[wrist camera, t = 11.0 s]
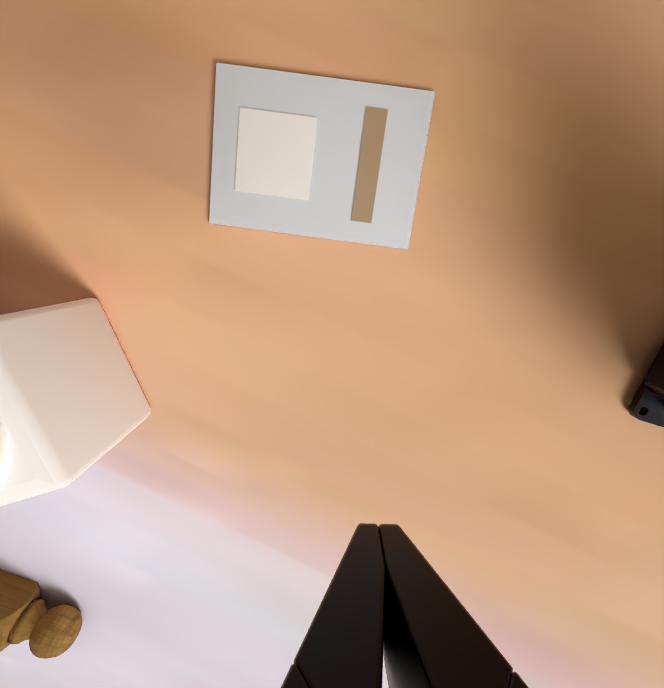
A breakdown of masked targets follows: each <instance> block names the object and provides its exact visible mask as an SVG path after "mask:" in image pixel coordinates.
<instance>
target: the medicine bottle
mask: <svg viewBox="0 0 664 688" xmlns="http://www.w3.org/2000/svg"><path fill="white" fill-rule="evenodd" d="M150 413H151V408H150V406H149V404H148V402H147V400H146V398H145V395H144V393H143V391H142V389H141V387H140V385H139V383H138V381H137V379H136V377H135V375H134V373H133V371H132V369H131V366H130V364H129V362H128V360H127V358H126V356H125V354H124V352H123V350H122V348H121V346H120V344H119V342H118V340H117V337H116V335H115V333H114V331H113V329H112V327H111V325H110V323H109V321H108V319H107V317H106V315H105V313H104V310H103V308H102V306H101V304H100V302H99V301H98V300H97V299H95V298H86V299H80V300H75V301H70V302H65V303H60V304H54V305H49V306H44V307H39V308H34V309H28V310H23V311H18V312H13V313H8V314H3V315H0V506H4V505H7V504H10V503H13V502H17V501H20V500H23V499H27V498H30V497H33V496H37V495H40V494H43V493H47V492H50V491H53V490H57V489H60V488H63V487H65V486H67V485H69V484H70V483H71V482H73V481H74V480H75V479H76V478H77V477H78V476H80V475H81V474H82V473H83V472H84V471H85V470H87V469H88V468H89V467H90V466H91V465H92V464H94V463H95V462H96V461H97V460H98V459H99V458H101V457H102V456H103V455H104V454H105V453H106V452H108V451H109V450H110V449H111V448H112V447H113V446H115V445H116V444H117V443H118V442H119V441H120V440H122V439H123V438H124V437H125V436H126V435H127V434H129V433H130V432H131V431H132V430H133V429H134V428H136V427H137V426H138V425H139V424H140V423H141V422H143V421H144V420H145V419H146V418H147V417H148V416H149V415H150Z"/></svg>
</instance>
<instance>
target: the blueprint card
mask: <svg viewBox="0 0 664 688" xmlns="http://www.w3.org/2000/svg"><path fill="white" fill-rule="evenodd" d="M434 96H435V91H428V90H420V89H412V88H405V87H397V86H390V85H382V84H375V83H367V82H360V81H352V80H345V79H337V78H329V77H322V76H314V75H307V74H299V73H292V72H284V71H277V70H269V69H261V68H254V67H246V66H239V65H231V64H224V63H216V84H215V106H214V128H213V150H212V172H211V194H210V216H209V223H211V224H219V225H226V226H234V227H242V228H249V229H257V230H264V231H272V232H279V233H287V234H294V235H302V236H310V237H317V238H325V239H332V240H340V241H347V242H355V243H363V244H370V245H378V246H385V247H393V248H400V249H408V246H409V241H410V235H411V229H412V223H413V217H414V212H415V206H416V200H417V194H418V188H419V183H420V177H421V171H422V165H423V160H424V154H425V148H426V142H427V136H428V131H429V125H430V119H431V113H432V107H433V102H434Z"/></svg>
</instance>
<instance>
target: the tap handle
mask: <svg viewBox="0 0 664 688" xmlns="http://www.w3.org/2000/svg"><path fill="white" fill-rule="evenodd" d="M37 597H39V598H40V597H41V591H40V586H39V584H38V582H35V581H32V580H29V579H27V578H24V577H21V576H18V575H15V574H12V573H9V572H6V571H4V570H1V569H0V652H1V651H2V650H3V649H5V648H6V647H7V646H8V645H10V644H19V643H20V642H22V641H24V640H28V639H30V640H29V646H30V650H31V652H32V654H34V655H35V656H36V657H39V658H52V657H56V656H58V655H61V654H62V653H64V652H65V651H66V650H67V649H68V648H69V647H70V646H71V645H72V644H73V642H74V641H75V639H76V638H77V636H78V634H79V632H80V629H81V625H82V616H81V613H80V611H79V610H78V609H77V608H75V607H73V606H70V605H58V606H55V607H53V608H51V609H50V610H48V609H47V608H46V602H45V600H42V599H38V600H34V599H35V598H37ZM33 600H34V601H33ZM31 601H33V602H32V603H31ZM30 603H31V604H30ZM29 604H30V605H29ZM28 605H29V606H28ZM27 606H28V607H27ZM26 607H27V608H26ZM25 608H26V609H25ZM24 609H25V611H24V612H23V610H24ZM22 612H23V613H22Z"/></svg>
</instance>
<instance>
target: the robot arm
mask: <svg viewBox="0 0 664 688" xmlns="http://www.w3.org/2000/svg"><path fill="white" fill-rule="evenodd" d="M642 407H643V409H642V411H641V412H639V409H640V408H642ZM628 410H629V413H630V415H632V416H634V417H635V418H637V419H639V420H642V421H645V422H648V423H652V424H655V425H658V426H661V427H664V344H663V346H662V348H661V349H660V351H659V353H658V355H657V357H656V358H655V360H654V362H653V364H652V366H651V367H650V369H649V371H648V373H647V375H646V376H645V378H644V380H643V382H642V384H641V386H640V387H639V389H638V391H637V393H636V395H635V396H634V398H633V400H632V402H631V404H630V405H629V409H628ZM383 654H384V661H385V667H386V673H387V679H388V685H389V688H528V686H527V685H526V684H525V683H524V681H523V680H522V679H521V678H520V676H519V675H518V674H517V673H516V672H513V668H512V667H511V665H510V664H509V663H508V662H507V660H506V659H505V658H504V657H503V655H502V654H501V653H500V652H499V650H498V649H497V648H496V646H495V645H494V644H493V643H492V641H491V640H490V639H489V638H488V636H487V635H486V634H485V633H484V631H483V630H482V629H481V628H480V626H479V625H478V624H477V623H476V621H475V620H474V619H473V618H472V616H471V615H470V614H469V613H468V611H467V610H466V609H465V608H464V606H463V605H462V604H461V603H460V601H459V600H458V599H457V598H456V596H455V595H454V594H453V593H452V591H451V590H450V589H449V588H448V586H447V585H446V584H445V583H444V581H443V580H442V579H441V578H440V576H439V575H438V574H437V573H436V571H435V570H434V569H433V568H432V566H431V565H430V564H429V563H428V561H427V560H426V559H425V558H424V556H423V555H422V554H421V553H420V551H419V550H418V549H417V548H416V546H415V545H414V544H413V543H412V541H411V540H410V539H409V538H408V536H407V535H406V534H405V533H404V531H403V530H402V529H401V528H400V526H398V525H396V524H380V525H379V527H378V526H377V525H376V524H364V523H361V524H359V525H358V526H357V528H356V530H355V532H354V534H353V537H352V539H351V541H350V543H349V545H348V547H347V549H346V551H345V553H344V556H343V558H342V560H341V562H340V564H339V566H338V568H337V570H336V572H335V575H334V577H333V579H332V581H331V583H330V585H329V587H328V589H327V592H326V594H325V596H324V598H323V600H322V602H321V604H320V606H319V608H318V611H317V613H316V615H315V617H314V619H313V621H312V623H311V625H310V628H309V630H308V632H307V634H306V636H305V638H304V640H303V642H302V644H301V647H300V649H299V651H298V653H297V655H296V657H295V659H294V664H293V665H291V667H290V669H289V671H288V673H287V676H286V678H285V680H284V682H283V684H282V686H281V688H382V669H383Z"/></svg>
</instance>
